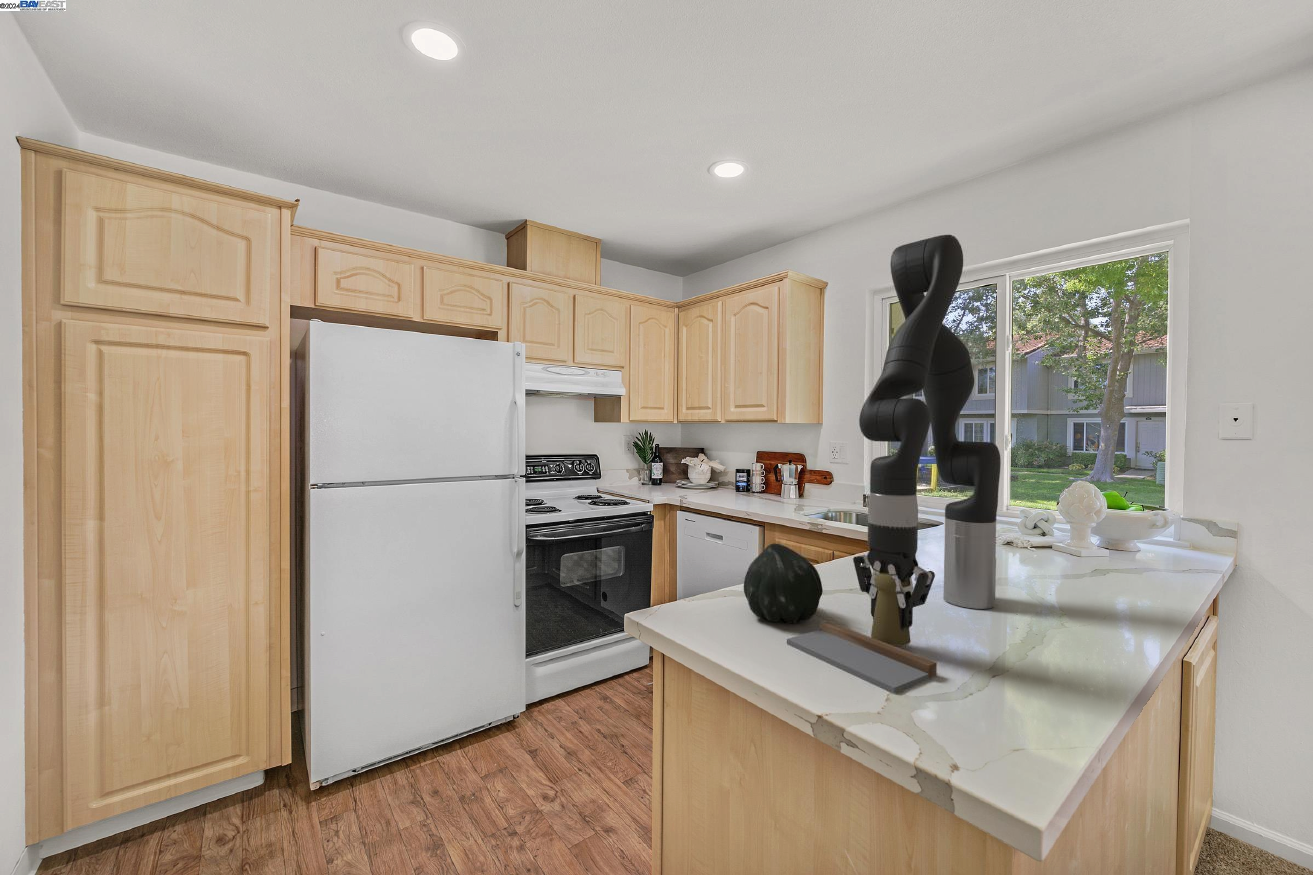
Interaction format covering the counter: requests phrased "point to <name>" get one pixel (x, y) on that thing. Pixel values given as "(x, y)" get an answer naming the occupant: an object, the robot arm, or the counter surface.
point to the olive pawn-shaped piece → (888, 612)
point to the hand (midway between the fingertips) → (890, 624)
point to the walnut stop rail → (881, 648)
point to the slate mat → (859, 661)
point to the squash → (782, 585)
